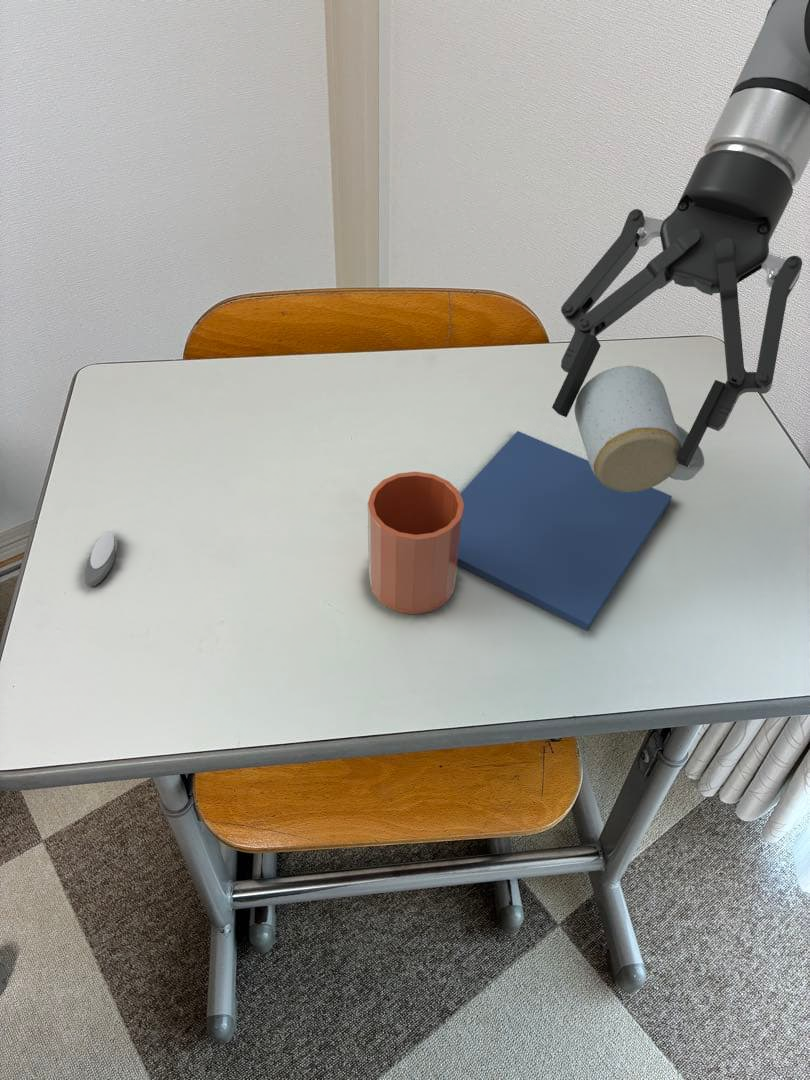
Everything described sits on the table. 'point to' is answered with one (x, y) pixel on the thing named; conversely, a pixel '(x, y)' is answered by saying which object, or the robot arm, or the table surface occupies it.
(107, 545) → the oval pebble
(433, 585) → the clay cup
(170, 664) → the table surface
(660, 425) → the ceramic mug
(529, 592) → the blue mat
